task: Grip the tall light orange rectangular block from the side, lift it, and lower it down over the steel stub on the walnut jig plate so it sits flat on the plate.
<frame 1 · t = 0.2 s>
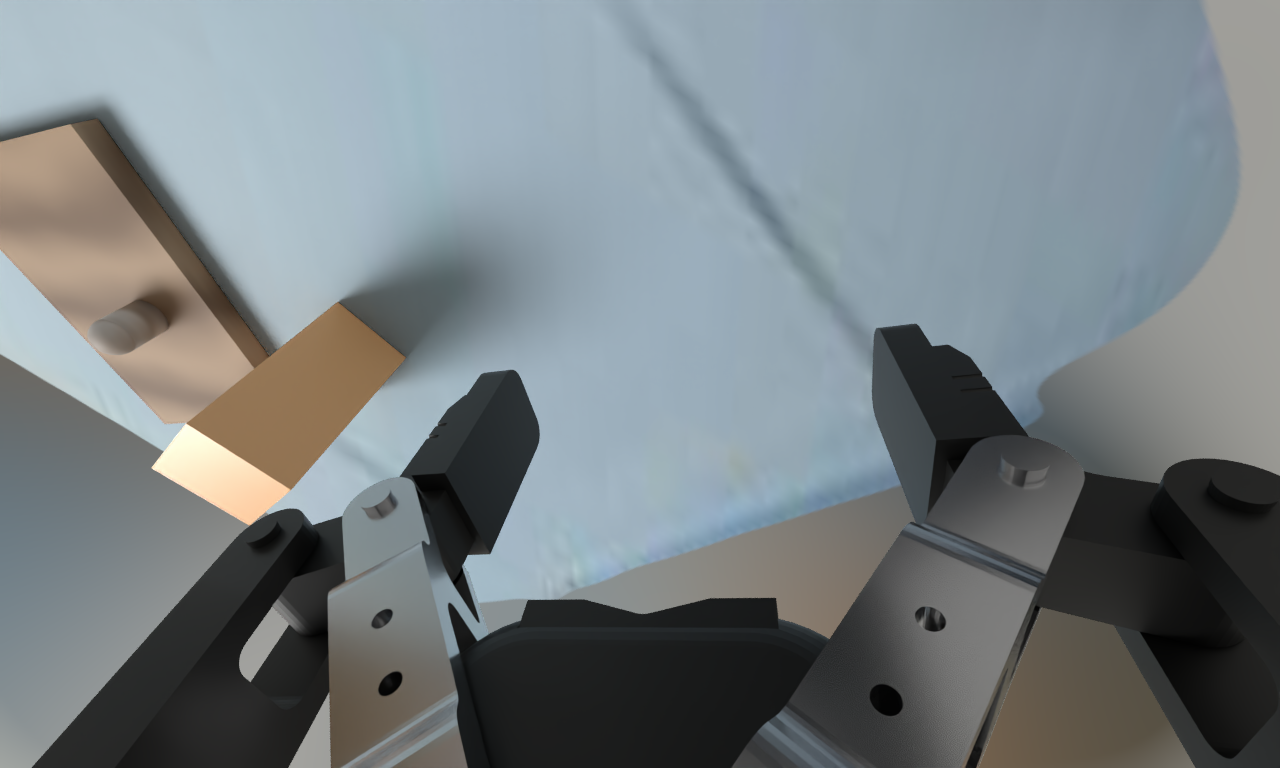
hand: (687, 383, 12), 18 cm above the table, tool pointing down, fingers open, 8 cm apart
light orange rectangular block: (353, 350, 36), on the table
jig plate: (147, 294, 36), on the table
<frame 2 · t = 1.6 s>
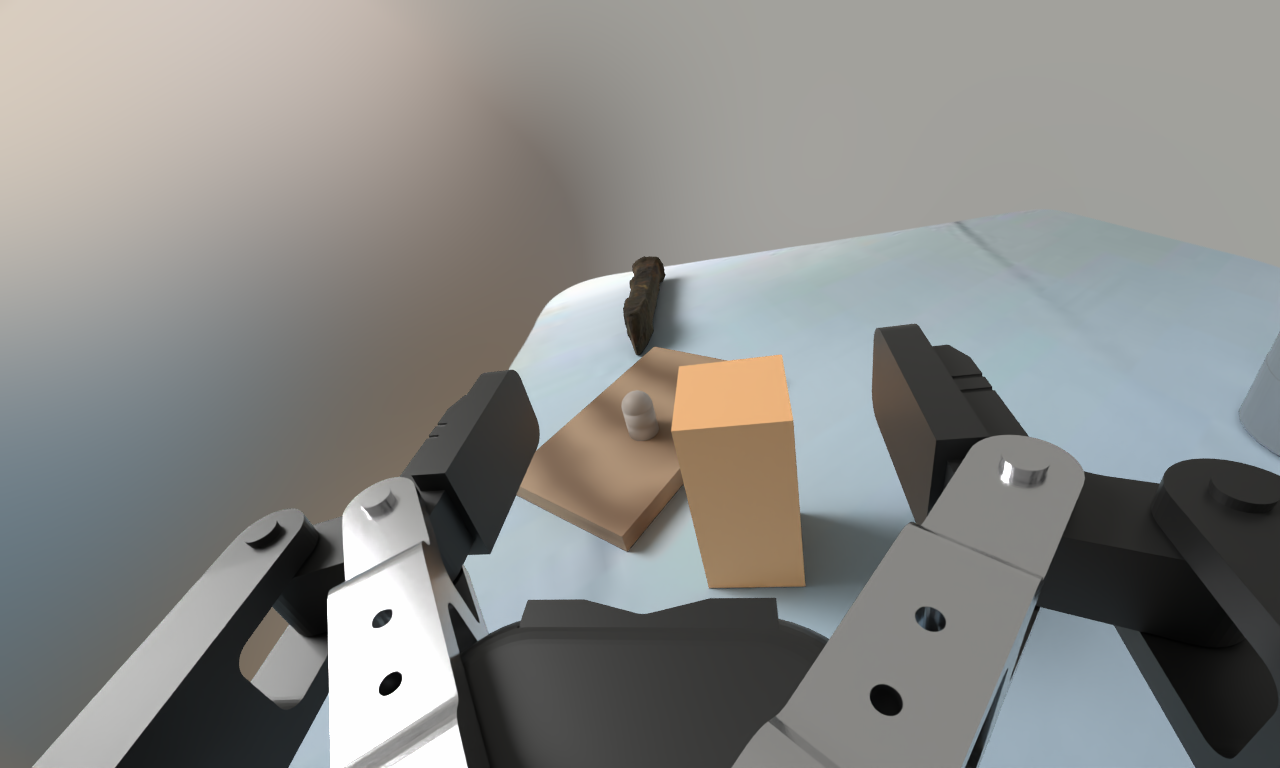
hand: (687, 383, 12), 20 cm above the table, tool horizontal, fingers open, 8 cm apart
light orange rectangular block: (753, 548, 32), on the table
dark brown rough bar: (651, 317, 62), on the table
jig plate: (645, 434, 43), on the table
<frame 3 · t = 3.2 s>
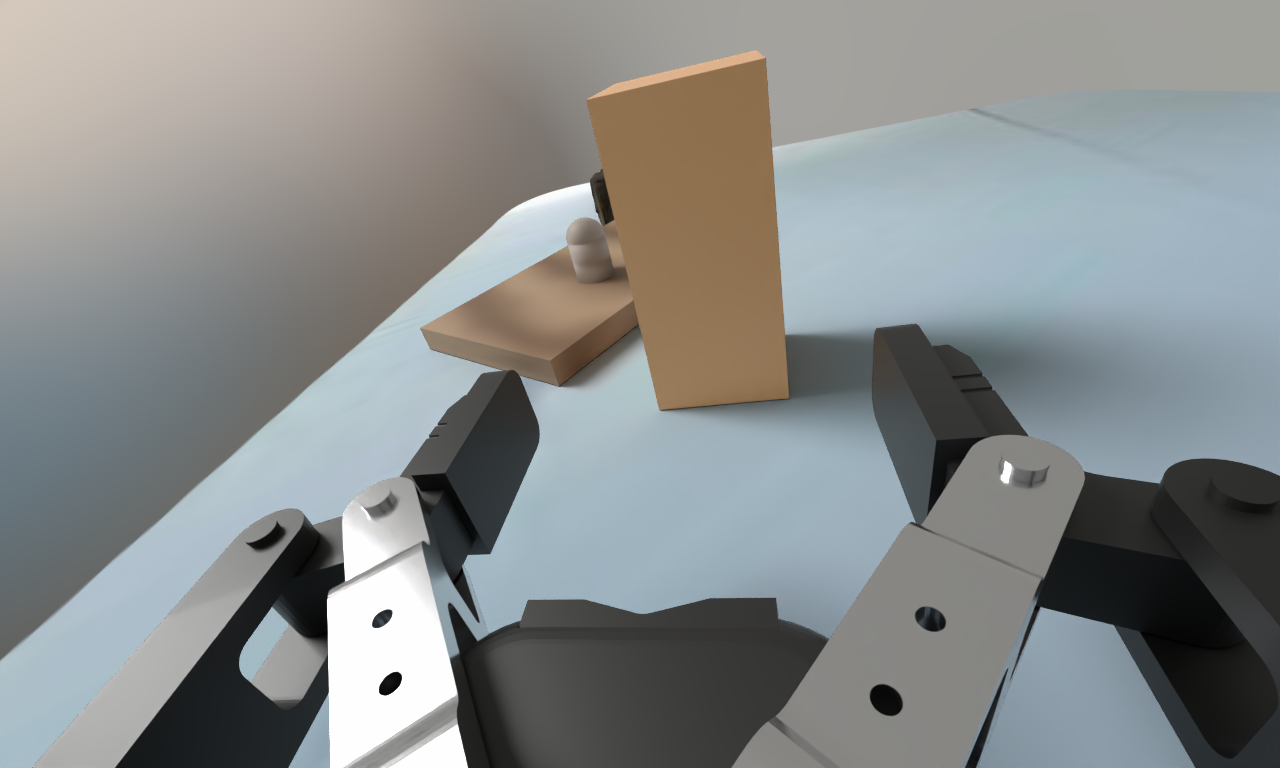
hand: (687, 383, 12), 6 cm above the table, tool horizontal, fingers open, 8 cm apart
light orange rectangular block: (722, 369, 24), on the table
dark brown rough bar: (624, 207, 54), on the table
jig plate: (600, 289, 35), on the table
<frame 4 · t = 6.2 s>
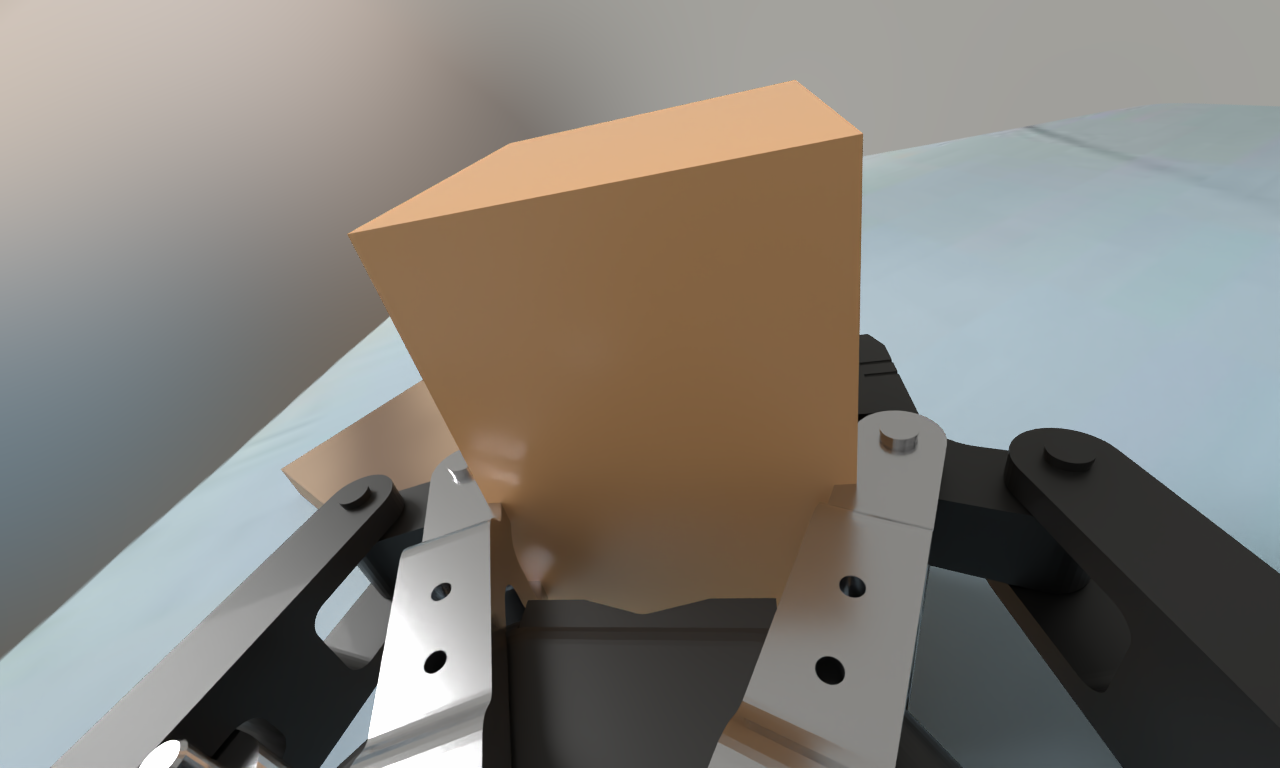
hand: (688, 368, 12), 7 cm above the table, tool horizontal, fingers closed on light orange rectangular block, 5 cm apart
light orange rectangular block: (723, 625, 14), on the table, touching gripper
jig plate: (552, 396, 25), on the table
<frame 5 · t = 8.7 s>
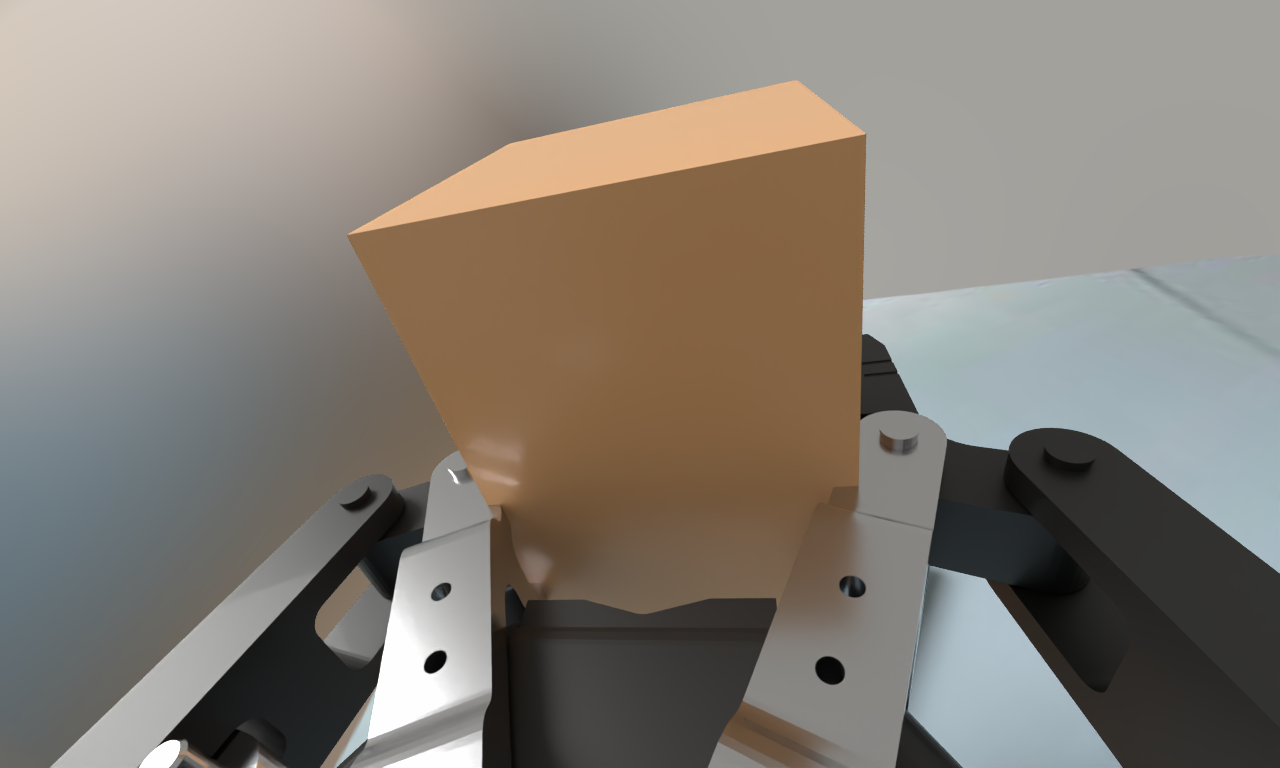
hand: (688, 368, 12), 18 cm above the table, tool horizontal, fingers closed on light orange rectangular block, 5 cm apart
light orange rectangular block: (724, 627, 14), point 11 cm above the table, touching gripper
when the fingers open (8 cm above the table, at t = 11.6 s): light orange rectangular block stays where it is, resting on jig plate.
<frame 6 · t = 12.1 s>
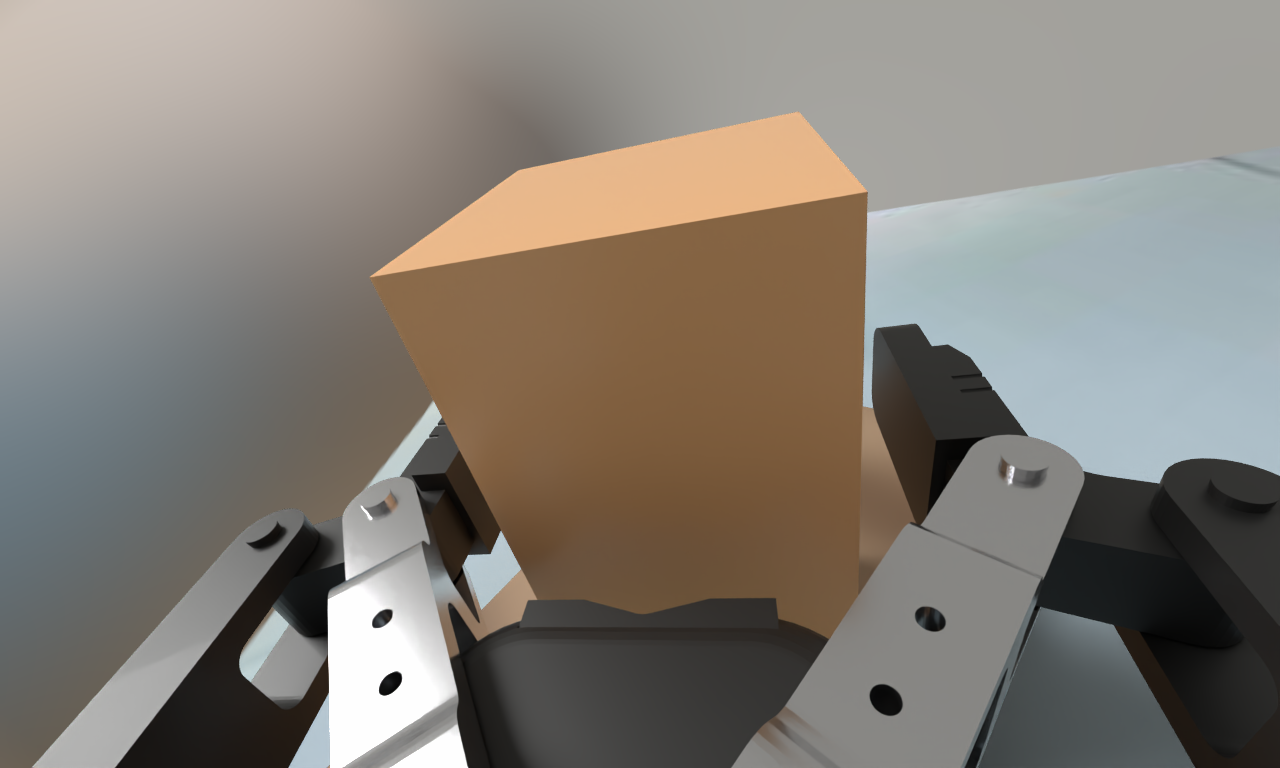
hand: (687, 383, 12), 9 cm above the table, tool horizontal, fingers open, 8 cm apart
light orange rectangular block: (727, 637, 14), point 1 cm above the table, touching jig plate
jig plate: (718, 622, 16), on the table
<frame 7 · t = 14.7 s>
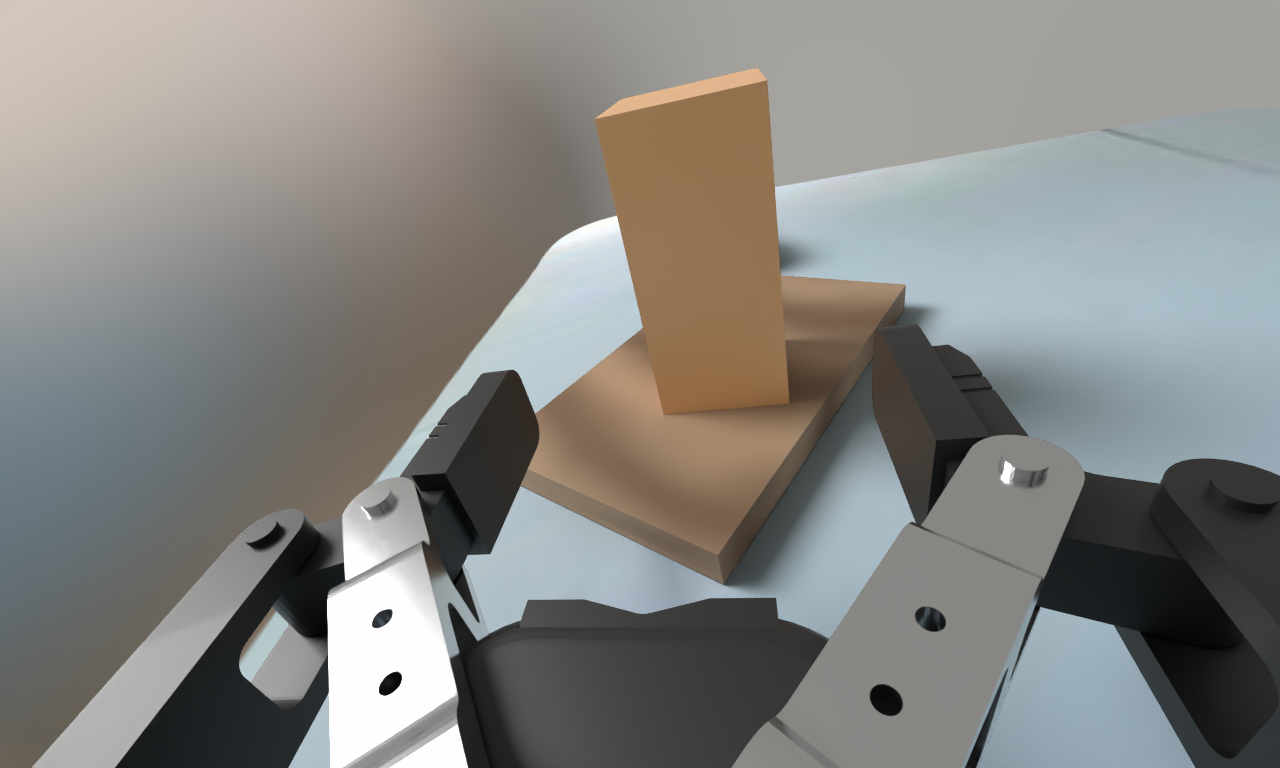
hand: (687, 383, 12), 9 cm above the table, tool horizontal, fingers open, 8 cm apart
light orange rectangular block: (724, 374, 25), point 1 cm above the table, touching jig plate
jig plate: (719, 385, 27), on the table
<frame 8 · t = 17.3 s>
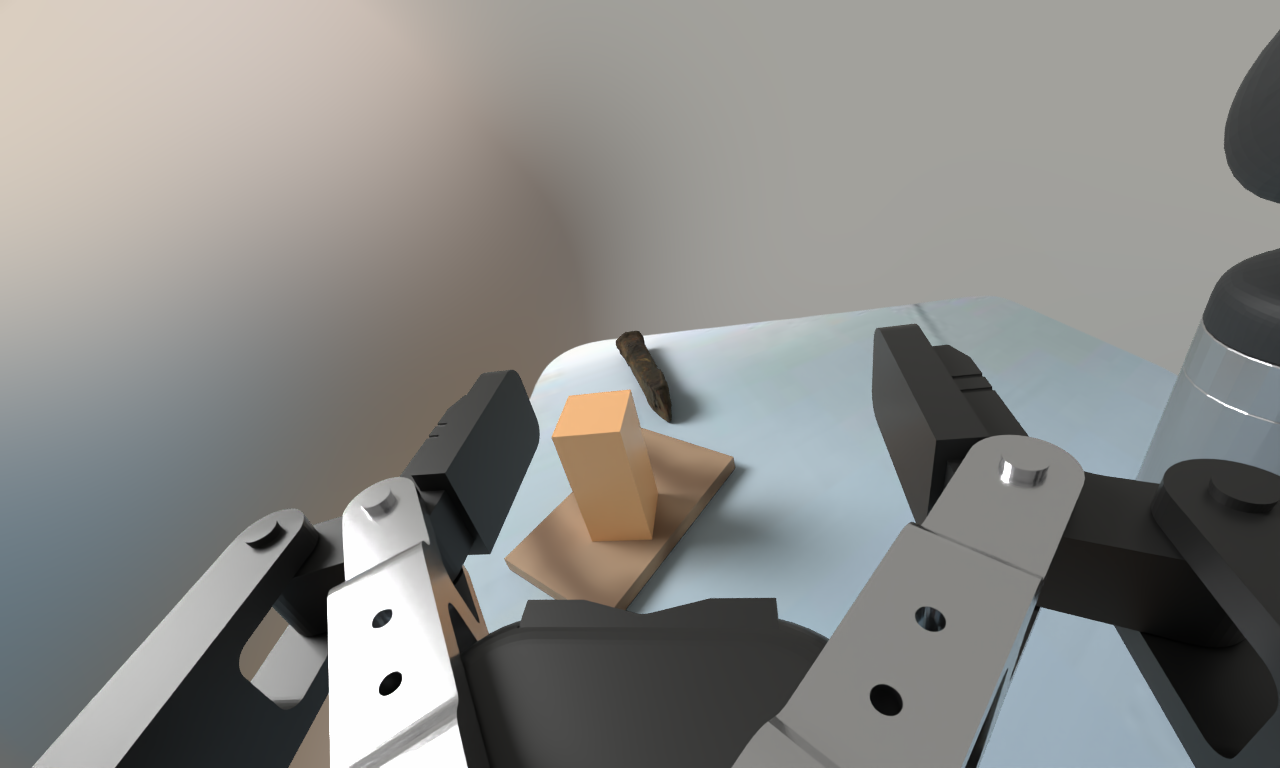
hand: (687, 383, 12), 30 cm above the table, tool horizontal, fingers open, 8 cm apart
light orange rectangular block: (626, 516, 48), point 1 cm above the table, touching jig plate
dark brown rough bar: (653, 385, 69), on the table
jig plate: (627, 516, 50), on the table
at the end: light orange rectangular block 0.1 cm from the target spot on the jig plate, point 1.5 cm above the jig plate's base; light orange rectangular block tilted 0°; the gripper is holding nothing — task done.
